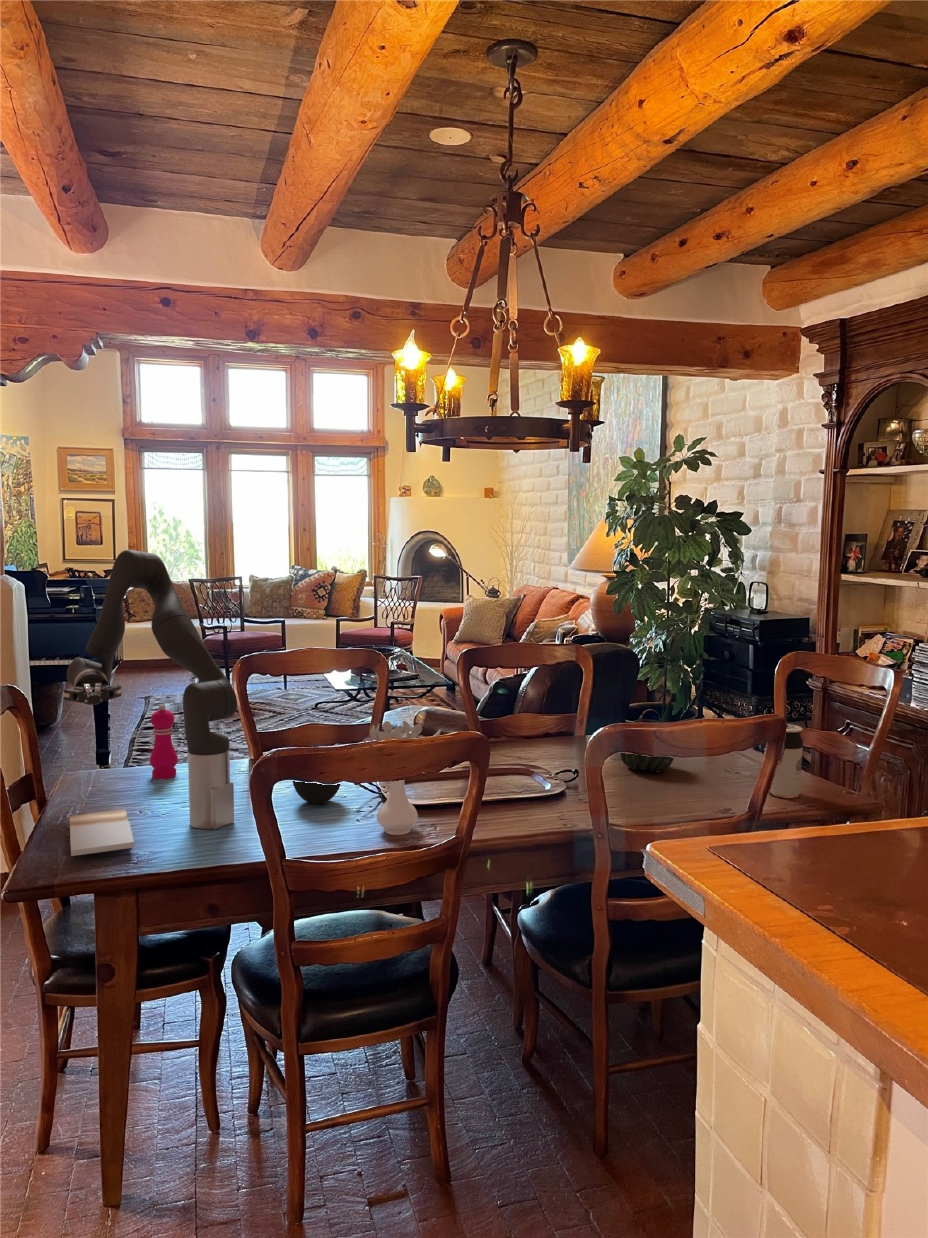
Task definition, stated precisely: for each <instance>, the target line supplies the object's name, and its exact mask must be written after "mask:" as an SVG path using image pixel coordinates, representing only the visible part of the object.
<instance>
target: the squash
mask: <svg viewBox="0 0 928 1238" xmlns="http://www.w3.org/2000/svg"><path fill="white" fill-rule="evenodd" d="M649 723H660V721H650V722H649ZM619 754H620V758H621V759H620V760H622V763H623V764H624V765H625V766H626V767H628V768H630V769H631V770H635V771H638V770H641V771H646V770H647V771H649V772H650V771H652V770H653V772H655V771H659V772H658V773H661V772H660V771H662V772H664V771H665V770H666V769H668V768H669V767H670V766H671V765H672V764H673V762H674V759H675V757H674V758H671V757H647V756H641V755H635V754H625V753H619Z"/></svg>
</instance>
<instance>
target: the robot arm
mask: <svg viewBox="0 0 928 1238" xmlns="http://www.w3.org/2000/svg"><path fill="white" fill-rule="evenodd" d="M171 579H172V578H171V576H170V574H169V572H168V570H167V567H166V565H165V563H164V561H163V560H162V559H161V557H160V556H159V555H157V554H154V553H152V552H148V551H147V552H146V551H139V550H133V549H124V550H122V551H121V552H120V553H119V554H118V555H117V556H116V558H115V560H114V562H113V565H112V568H111V572H110V575H109V580H108V583H107V586H106V591H105V594H104V599H103V602H102V607H101V610H100V612H99V613H100V614H99V617H98V620H97V622H96V624H95V627H94V629H93V631H92V632H91V634H90V635H91V636H90V638H89V639H88V641H87V645H86V651H87V653H88V654H89V655H90V656H91V657H93V658H95V659H96V660H98V662H97V661H94V660H90V659H86V658H83V657H78V658H75V659H74V660H72V661H71V662H70V663H69V665H68V667H67V670H66V680H67V681H68V683H69V684H70V686H73V688H64V689H63V691H62V692H63V701H67V702H74V703H75V702H76V703H82V704H85V705H88V706H95V705H96V706H97V705H98V704H101V703H102V702H104V701H105V702H108V701H110V700H113V699H116V698H119V697H122V696H123V695H122V692H123V691H122V685H120V684H117V685H114V686H113V685H111V684H110V683H111V681H112V674H113V673H112V672H113V664H114V663H113V662H114V658H115V655H116V653H117V651H118V648H119V647H120V644H121V642H122V640H123V637H124V634H125V631H126V621H125V620H126V619H125V615H124V610H123V609H124V608H123V607H124V606H123V602H124V598H125V596H126V594H127V593H128V590H129V589H130V588H132V589H133V588H134V589H139V590H140V589H142V590H145V591H146V592H147V593H148V595H149V596H150V598H151V600H152V602H153V604H154V608H153V609H154V610H153V613H152V618H151V631H152V634H153V636H154V637H155V639H156V641H157V644H158V645H159V647H160V649H161V651H162V652H163V653H164V654H165V655H166V656H167V657H168V658H169V659H170V660H172V661H173V662H174V663H176V664H177V665H179V666H181V667H182V668H184V669H185V670H187V671H189V672H190V673H191V674H193V676H195V678H196V679H198V681H199V682H194V683H190V684H188V685H187V686H186V687H185V689H184V690H183V691H184V692H183V695H182V711H183V721H184V734H185V740H186V744H187V759H188V760H187V761H188V762H187V763H188V764H187V766H188V767H187V769H188V771H187V773H188V807H189V810H188V811H189V825H190V826H191V827H192V828H195V829H201V830H218V829H220V828H223V827H225V826H227V825H230V824H233V823H235V797H234V796H235V795H234V794H235V793H234V790H235V787H234V785H235V784H234V783H233V782H232V781H231V762H230V761H231V759H230V757H231V756H230V755H231V754H230V753H231V752H230V749H231V748H230V739H229V737H228V736H227V735H225V734H222V733H217V732H212V731H211V730H210V725H209V724H210V722H215V721H221V720H225V719H229V718H231V717H233V716H234V715H235V714H236V712H237V710H238V698H237V694H236V692H235V689H234V688H233V686H232V684H231V682H230V681H229V680H228V678H227V676H226V674H225V673H224V672H223V671H222V669H221V668H220V666H219V665H218V664H217V662H216V661H215V660H214V658H213V657H212V655H211V653H210V651H209V650H208V648H207V646H206V645H205V643H204V642H203V639H202V638H201V636H200V634H199V632H198V630H197V628H196V626H195V625H194V622H193V621H192V619H191V618H190V615H189V614H188V613H187V611H186V609H185V606H184V605H183V603H182V601H181V599H180V597H179V594H177V591H176V589H175V587H174V584H173V581H172V580H171Z"/></svg>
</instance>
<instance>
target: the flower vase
mask: <svg viewBox="0 0 928 1238" xmlns="http://www.w3.org/2000/svg"><path fill="white" fill-rule="evenodd" d="M380 724H381V723H378V724H377V726H375V724H372V726H371V728H370V730H369V736H367V737H366V738H364V739H363V740H362V741H361V743H362V742H366V741H373V740H379V741H380V740H389V739H402V740H403V739H404V740H405V739H408V738H416V737H426V736H424V735H420V734H421V732H422V731H423V727H422V725H421V724H420V723H418V724H414V726H413V727H411V726H410V723H409V722H407V721H406V720H403V721H402V726H401V725H400V726H397V727H395V728H394V729H393V726H392V723H391V722H390V721H389V720H385V721H384V722H383V724H382V725H383V726H382V728H383V729H382V730H383V731H382V730H380ZM441 732H442V731H441V729H438V730H437V732H436V733H435V734H433V736H438V735H439V736H441ZM433 736H432V737H433ZM361 743H360V744H361ZM406 793H407V792H406V787H405V779H404V780H399V781H394V782H391V781H390V786H389V794H388V797H386V798H387V799H386V800H385V802H384V803H383V805H381V806H380V807H379V809H378V811H377V813H376V819H377V822H378V824H379V825H380V826H381V827H382V828H383V832H384V831H385V832H386V833H385V832H384V833H385V834H388V835H391V836H402V835H407V834H409V833H410V832H411V830H412V827H414V826H415V824H416V823H417V821H418V820H419V815H418V811H417V809H416V807H415V806H414V805H413V804H412V803H411V802H410V801H409V798H408V797H407V794H406Z"/></svg>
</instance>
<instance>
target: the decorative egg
mask: <svg viewBox="0 0 928 1238" xmlns="http://www.w3.org/2000/svg"><path fill="white" fill-rule="evenodd" d="M308 746H326V745H325V744H321V743H313V744H309V745H308ZM292 785H293V787H294V791H295V792H296V793H297V795H298V796H299V797H300V798H301V799H302V800H304V801H305V802H306V803H309V804H311V805H312V804H313V805H321V804H324V803H326V802H329V801H331V800H332V799H333V798H334V797H335V796H336V794H338V791H339V789H340V788H341V785H342V783H341V784H337V785H322V784H317V783H305V782H295V781H292Z"/></svg>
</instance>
